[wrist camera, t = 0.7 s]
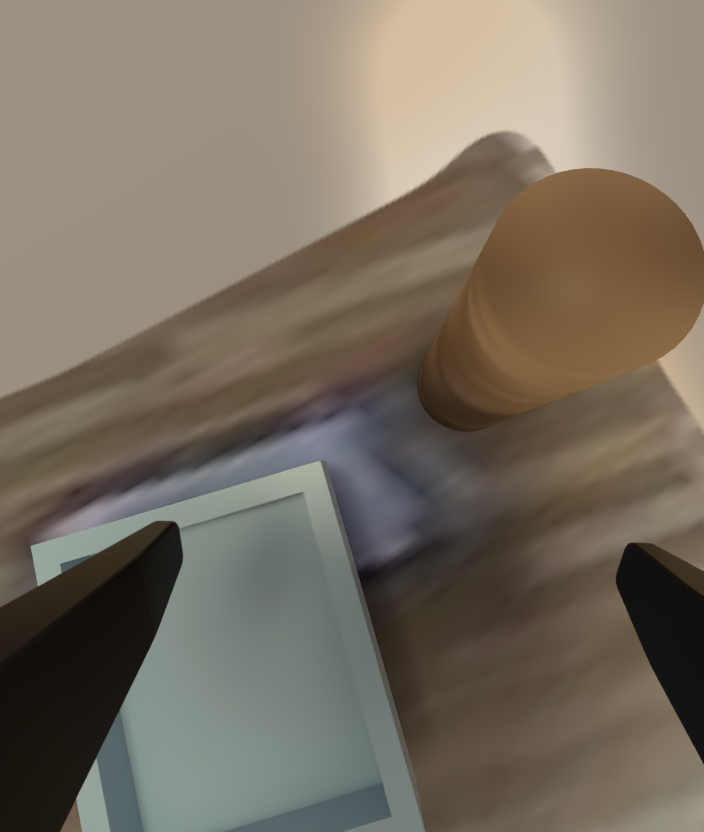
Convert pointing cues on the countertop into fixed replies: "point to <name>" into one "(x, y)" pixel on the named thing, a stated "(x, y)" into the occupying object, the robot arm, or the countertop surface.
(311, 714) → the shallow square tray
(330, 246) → the countertop surface
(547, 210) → the walnut post
